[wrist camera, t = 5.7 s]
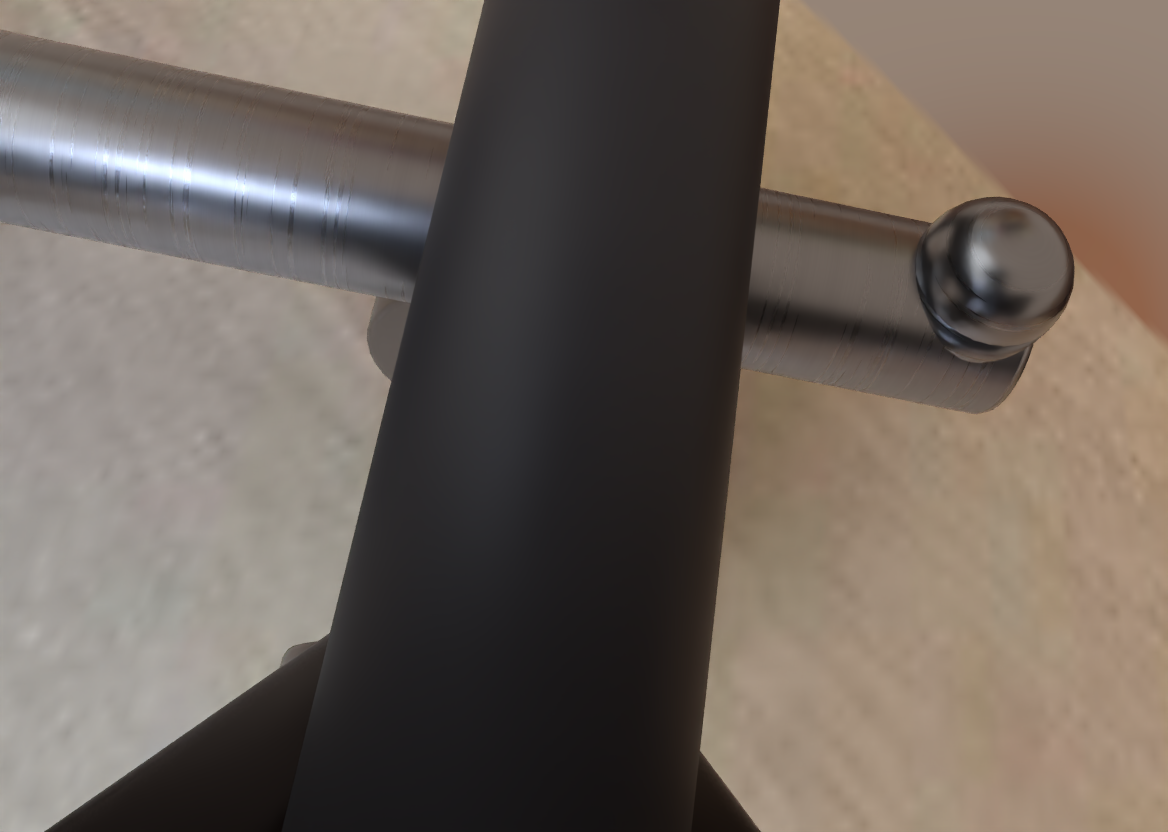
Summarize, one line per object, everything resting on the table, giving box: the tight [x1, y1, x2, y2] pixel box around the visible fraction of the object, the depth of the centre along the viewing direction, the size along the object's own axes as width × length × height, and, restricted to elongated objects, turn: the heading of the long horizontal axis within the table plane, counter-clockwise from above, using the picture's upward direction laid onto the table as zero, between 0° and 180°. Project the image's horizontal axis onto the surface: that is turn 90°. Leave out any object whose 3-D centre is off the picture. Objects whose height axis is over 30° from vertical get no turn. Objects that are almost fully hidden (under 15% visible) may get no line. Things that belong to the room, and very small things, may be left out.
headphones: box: [280, 0, 780, 832], centre depth 10 cm, size 9×4×11 cm, turn 171°
